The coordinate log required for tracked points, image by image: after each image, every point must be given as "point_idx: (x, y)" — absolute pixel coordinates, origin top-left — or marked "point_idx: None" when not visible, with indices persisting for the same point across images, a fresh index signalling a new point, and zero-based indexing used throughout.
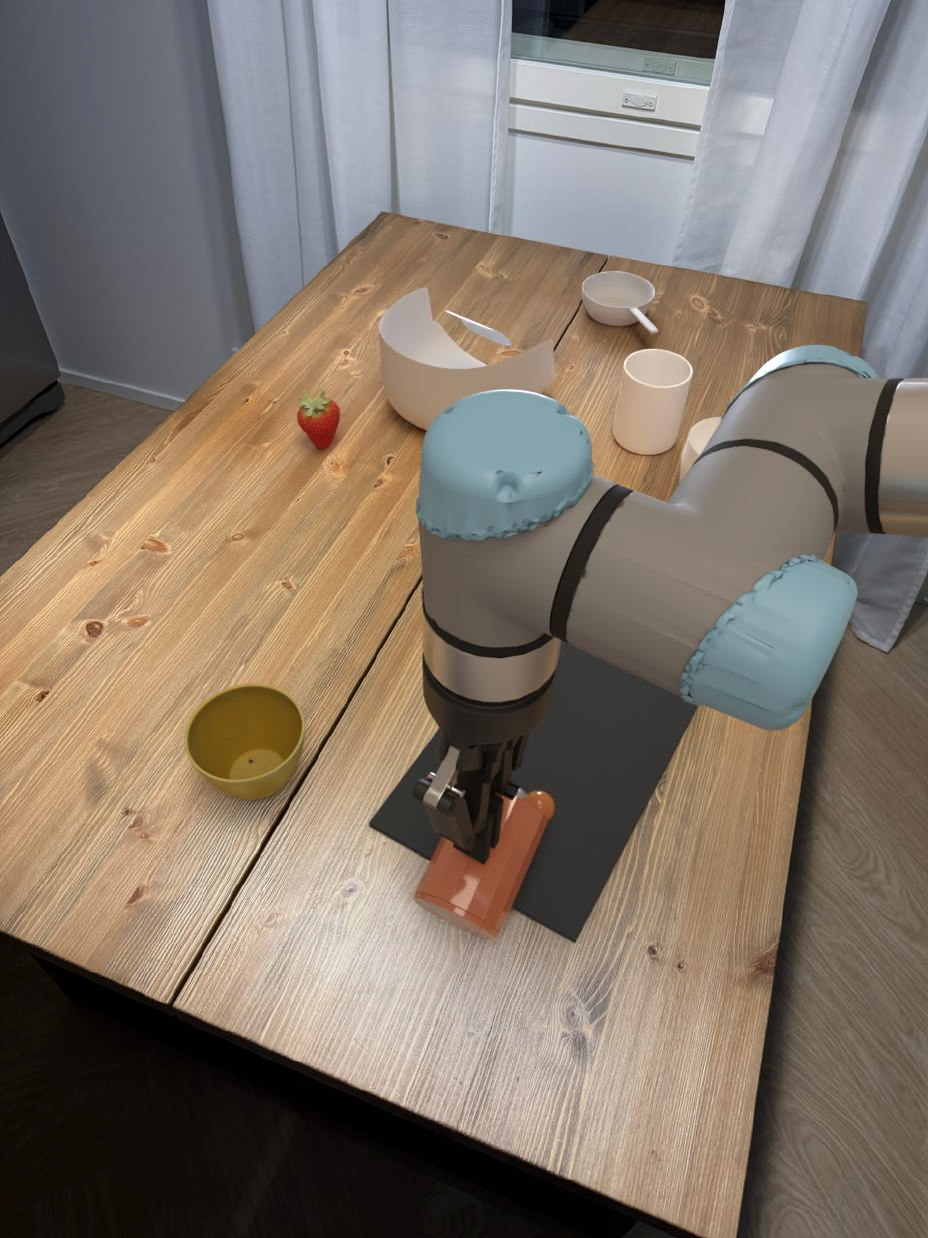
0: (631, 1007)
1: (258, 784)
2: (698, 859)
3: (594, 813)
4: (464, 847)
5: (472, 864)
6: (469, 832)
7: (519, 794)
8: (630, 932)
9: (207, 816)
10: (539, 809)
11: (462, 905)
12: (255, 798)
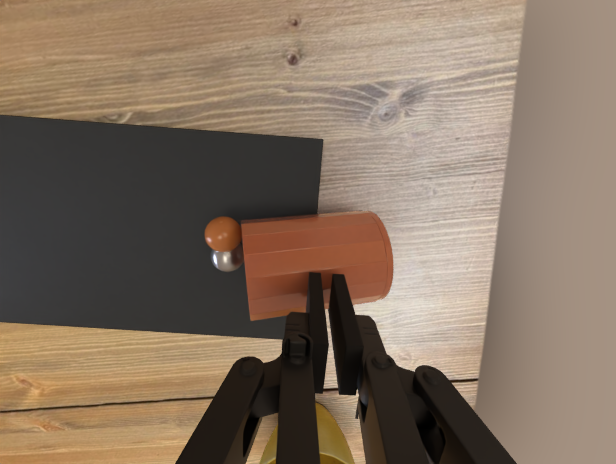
0: (357, 59)
1: (342, 449)
2: (168, 44)
3: (187, 174)
4: (448, 381)
5: None
6: (448, 408)
7: (220, 256)
8: (286, 89)
9: (352, 425)
10: (229, 235)
11: (384, 267)
12: (334, 420)
